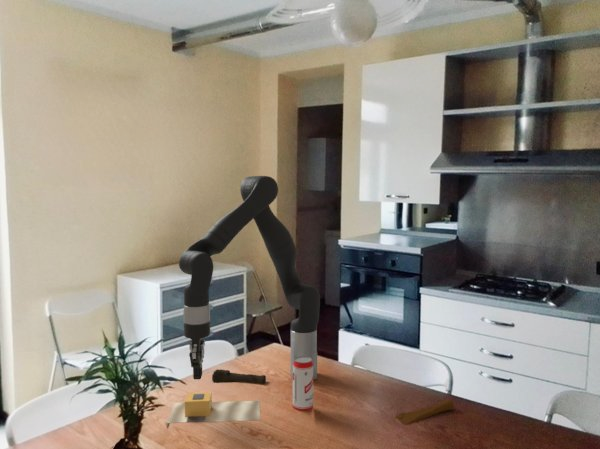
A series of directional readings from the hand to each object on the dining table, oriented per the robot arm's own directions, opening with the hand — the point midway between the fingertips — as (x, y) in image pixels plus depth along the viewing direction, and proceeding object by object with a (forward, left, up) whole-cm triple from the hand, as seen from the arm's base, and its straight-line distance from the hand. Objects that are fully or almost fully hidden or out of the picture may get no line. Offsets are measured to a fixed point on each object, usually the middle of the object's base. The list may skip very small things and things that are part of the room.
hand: (197, 377), depth 138 cm
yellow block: (0, 0, -11) cm, 11 cm away
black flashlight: (-10, -21, -12) cm, 27 cm away
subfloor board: (-5, 0, -12) cm, 13 cm away
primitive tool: (-67, +3, -13) cm, 69 cm away
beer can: (-31, -2, -12) cm, 33 cm away
